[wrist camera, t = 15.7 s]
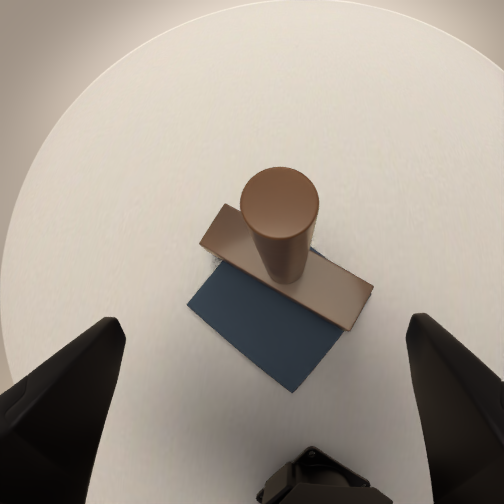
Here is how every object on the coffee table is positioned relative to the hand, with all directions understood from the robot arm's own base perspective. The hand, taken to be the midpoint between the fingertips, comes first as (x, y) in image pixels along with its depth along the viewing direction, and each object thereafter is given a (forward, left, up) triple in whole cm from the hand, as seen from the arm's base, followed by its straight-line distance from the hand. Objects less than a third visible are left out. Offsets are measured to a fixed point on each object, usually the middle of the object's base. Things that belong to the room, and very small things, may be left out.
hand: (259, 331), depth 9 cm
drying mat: (+1, -1, -14) cm, 14 cm away
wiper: (+2, -3, -13) cm, 14 cm away
